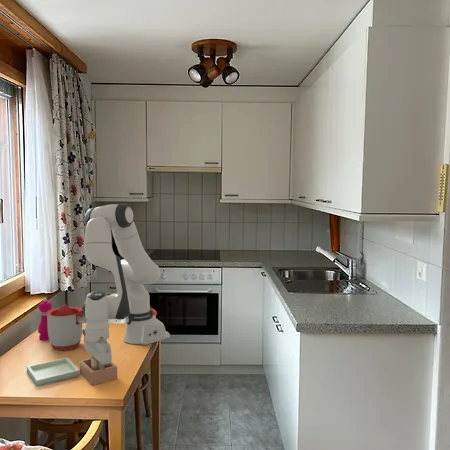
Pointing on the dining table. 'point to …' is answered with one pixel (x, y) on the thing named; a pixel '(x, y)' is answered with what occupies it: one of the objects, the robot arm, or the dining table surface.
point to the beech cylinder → (95, 364)
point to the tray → (52, 371)
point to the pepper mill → (44, 319)
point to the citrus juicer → (65, 327)
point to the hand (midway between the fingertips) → (98, 368)
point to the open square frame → (97, 372)
